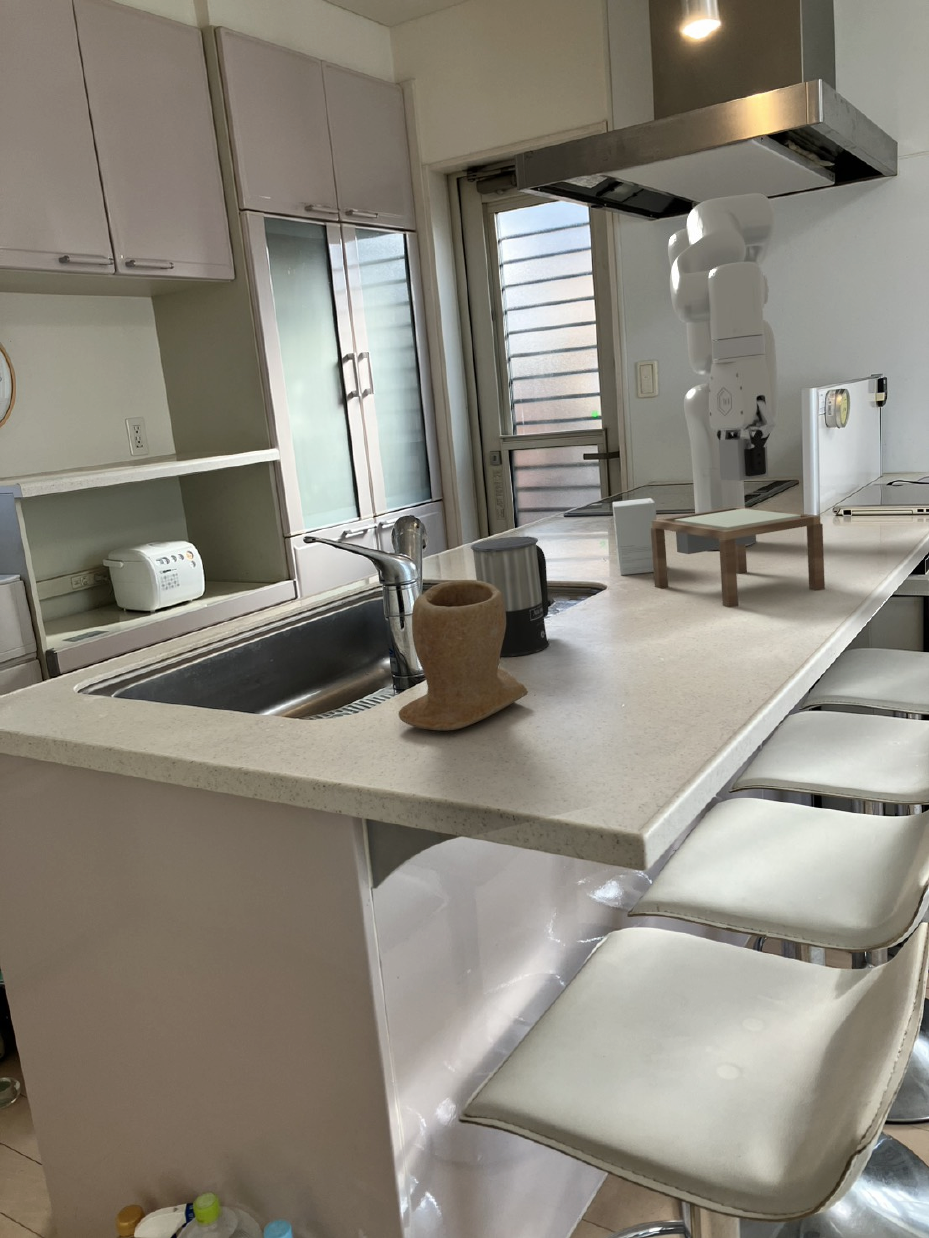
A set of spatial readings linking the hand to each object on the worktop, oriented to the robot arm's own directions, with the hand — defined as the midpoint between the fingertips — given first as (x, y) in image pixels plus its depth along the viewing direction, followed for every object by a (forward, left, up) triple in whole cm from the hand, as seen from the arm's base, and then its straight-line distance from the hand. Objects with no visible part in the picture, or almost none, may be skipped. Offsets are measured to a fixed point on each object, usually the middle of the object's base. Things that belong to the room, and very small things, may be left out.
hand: (744, 473), depth 153 cm
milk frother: (+3, -44, -19) cm, 48 cm away
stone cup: (+31, -57, -19) cm, 68 cm away
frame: (-4, 0, -18) cm, 19 cm away
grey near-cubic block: (0, 0, -1) cm, 1 cm away
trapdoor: (-3, 0, -12) cm, 13 cm away
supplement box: (-31, -3, -19) cm, 36 cm away
